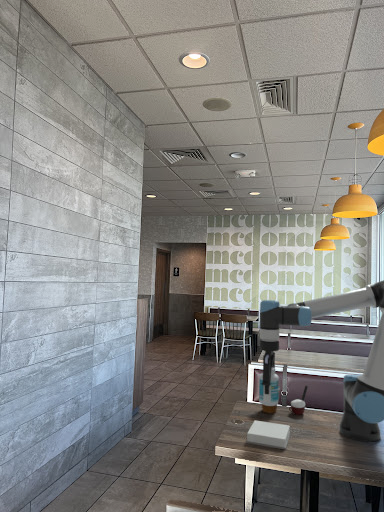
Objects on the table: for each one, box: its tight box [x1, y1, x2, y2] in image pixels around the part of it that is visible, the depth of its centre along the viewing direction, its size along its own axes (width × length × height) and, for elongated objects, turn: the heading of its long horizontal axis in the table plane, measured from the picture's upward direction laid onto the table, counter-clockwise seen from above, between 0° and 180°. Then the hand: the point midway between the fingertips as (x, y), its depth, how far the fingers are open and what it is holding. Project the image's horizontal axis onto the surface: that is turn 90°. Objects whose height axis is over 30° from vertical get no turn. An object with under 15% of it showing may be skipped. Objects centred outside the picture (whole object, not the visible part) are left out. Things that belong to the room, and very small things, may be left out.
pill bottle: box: [258, 367, 280, 406], centre depth 147 cm, size 8×7×14 cm
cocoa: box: [288, 385, 309, 416], centre depth 174 cm, size 10×6×12 cm, turn 86°
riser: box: [246, 420, 291, 450], centre depth 146 cm, size 14×14×4 cm
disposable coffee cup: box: [261, 387, 281, 414], centre depth 177 cm, size 10×10×12 cm
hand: (268, 399), depth 147 cm, fingers closed on pill bottle, 7 cm apart
